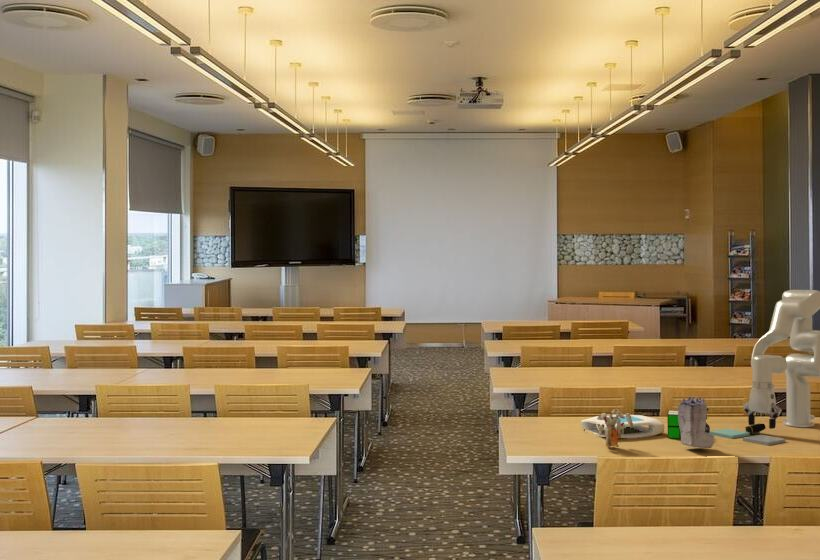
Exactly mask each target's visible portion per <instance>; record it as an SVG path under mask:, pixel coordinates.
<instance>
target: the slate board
mask: <svg viewBox="0 0 820 560" xmlns="http://www.w3.org/2000/svg"><path fill="white" fill-rule="evenodd" d="M742 442H747V443H752V444H759V445H765V446H773V445H777V444H782V443H786V438H783V437H782V438H781V437H776V436H771V435H764V434H755V435H752V436H751V435H750V436H744V437H742Z"/></svg>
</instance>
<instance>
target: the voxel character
mask: <svg viewBox="0 0 820 560" xmlns="http://www.w3.org/2000/svg"><path fill="white" fill-rule="evenodd" d="M614 414H615V415H616V417H613V415H614ZM607 415H609V417H610V418H608V417H607ZM624 415H626V420H627V422H628V424H630V426H633V423H632V419H631V415H632V414H631V413H625V414H623V413H622V412H621V411H620V410H619V409H618V408H616V409H613V410H611V411H610V412H609V413H606V412H602V413H601V414H600V415H597V416H598V418H597V419H598V420H605V424H606V429H604V424H602V425H600V424H598V425H597V427H598V429H599V430H598V434H599V435H605V437H606V438H605V447H607V448H611V447H614V448H619V444H618V441H619V439H618V438H621V434H625V433H624V432H625V429H626V428H625V424H624V422H623V423H621V419H620V418H622V419H625V416H624ZM618 417H620V418H618ZM616 423H617V429H616V428H615V425H616ZM603 429H604V430H603Z"/></svg>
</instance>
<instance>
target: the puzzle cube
mask: <svg viewBox="0 0 820 560" xmlns="http://www.w3.org/2000/svg"><path fill="white" fill-rule="evenodd" d="M667 411H668V412H667V438H668V439H675V440H681V432H680V428H679V422H678V410H667Z"/></svg>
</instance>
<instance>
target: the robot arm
mask: <svg viewBox="0 0 820 560" xmlns="http://www.w3.org/2000/svg"><path fill="white" fill-rule="evenodd" d="M819 310H820V290H815V289H790V290H785V291H784V292H783V293H782V295H781V299H780V300H778V301H776V303H775V306H774V310H773V314H772V317H771V321H770V326H769V330H768V331H767V332H766V333H765V334H764V335H762V336H761V337H760V338H759V339H758V341H756V343H754V346H753V349H752V353H751V357H750V366H751V368H752V388H750V392H749V398H748V400H749V401H747V402H745V403H743V405H742V406H743V408H744V411H745V412H746V414H747V416H748V417H747V418H748V426H751V425H755V424H756V417H755V415H754V414H756V413H758V414H759V413H760V414H765V415H768V417H769V420H768V424H769V425H768V428H769V429H771V430H772V429H776V423H777V421H776V420H777V418H778V417H779V416H780V414H781V413H782V411H783V410H782V409H781V407H779V406H777V401H776V400H777V399H776V394H775V390H774V389H773V388H775V384H773V374H781V373H784V372H785V379H786V380H785V381H786V384H785V385H786V420H783V421H782V424H783V425H785V426H788V427H793V428H813V427H815V423H814V422H812V420H815V418H816V416H815V415H814V414H811V385H810V382H809V380H808V379H807V377H811V378H820V330H816V329H813V317H812V316H814V315H815V313H817V312H818V311H819ZM788 338H789V346H790V348H791V349H792V350H794V351H799V352H809V353H810V352H811V353H812V352H813V354H807V353H806V354H805V353H790V354H788V355H786V356H785V357H783V356H780V355H772V354H765V352H766V351H767V349H768V348H769V347H771V346H772V345H774V344H777V343H778V342H781V341H784V340H787V339H788Z"/></svg>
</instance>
